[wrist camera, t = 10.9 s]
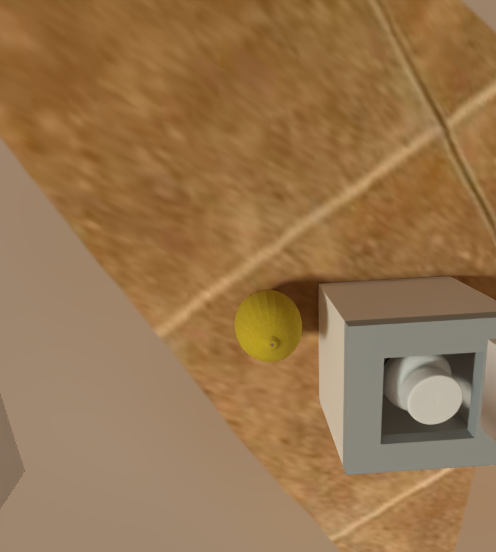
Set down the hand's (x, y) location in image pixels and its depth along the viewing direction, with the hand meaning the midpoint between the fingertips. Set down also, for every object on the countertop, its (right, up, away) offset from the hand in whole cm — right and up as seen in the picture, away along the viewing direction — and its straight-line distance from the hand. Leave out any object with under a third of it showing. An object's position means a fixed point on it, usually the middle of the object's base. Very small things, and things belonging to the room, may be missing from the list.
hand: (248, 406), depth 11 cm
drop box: (+13, -3, +27) cm, 30 cm away
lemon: (+2, +1, +26) cm, 26 cm away
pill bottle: (+13, -2, +27) cm, 30 cm away
